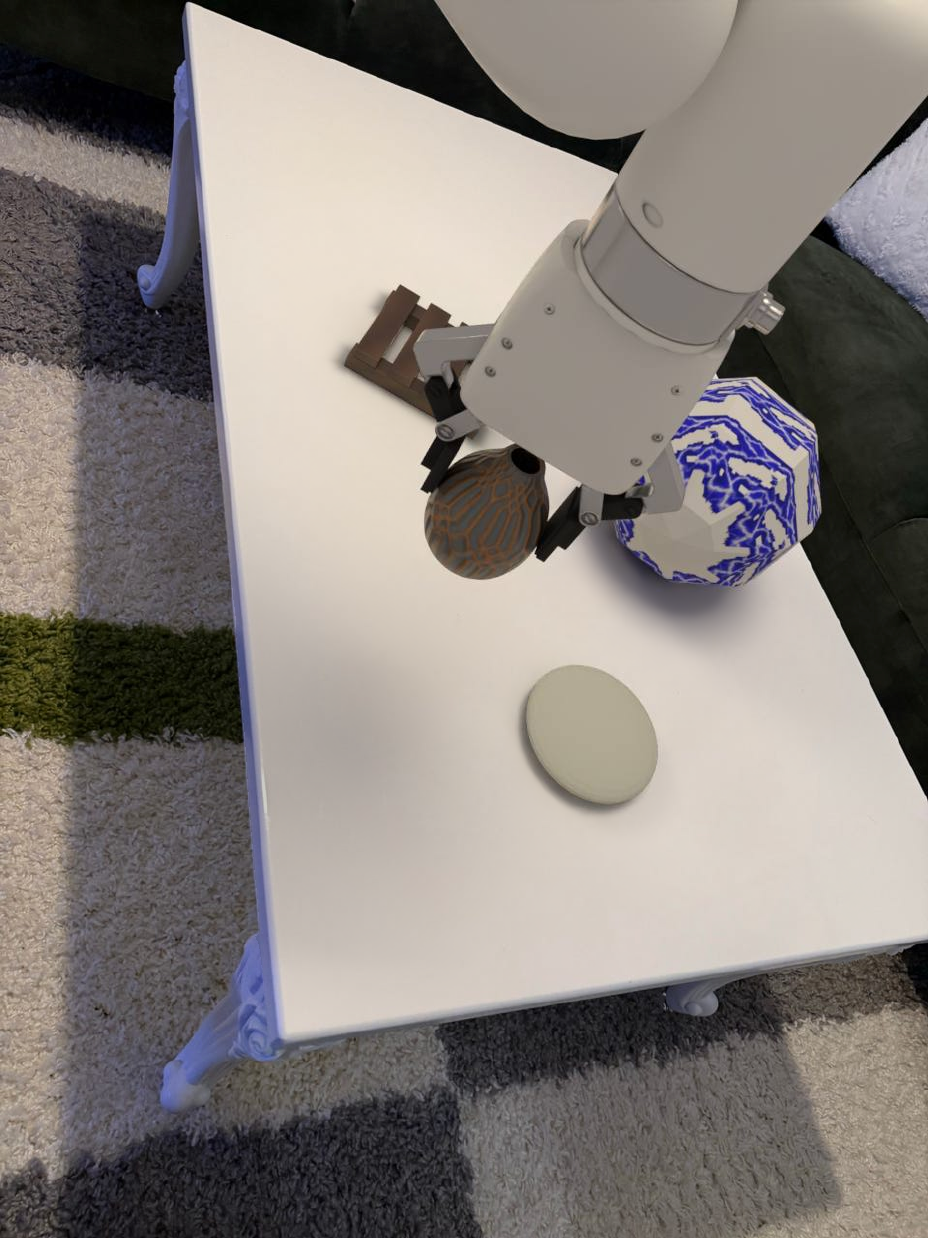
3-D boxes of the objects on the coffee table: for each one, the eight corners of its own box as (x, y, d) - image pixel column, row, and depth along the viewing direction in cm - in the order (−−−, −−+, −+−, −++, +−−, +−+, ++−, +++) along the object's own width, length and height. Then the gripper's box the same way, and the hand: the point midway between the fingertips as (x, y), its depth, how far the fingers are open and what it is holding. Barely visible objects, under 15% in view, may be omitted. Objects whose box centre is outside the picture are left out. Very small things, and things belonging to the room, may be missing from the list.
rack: (343, 364, 83) (395, 236, 72) (388, 300, 91) (441, 175, 80) (472, 439, 85) (542, 325, 74) (505, 370, 93) (574, 257, 81)
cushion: (613, 840, 69) (634, 828, 66) (492, 743, 69) (509, 727, 66) (666, 735, 76) (686, 721, 74) (558, 647, 76) (575, 630, 74)
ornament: (588, 403, 72) (676, 310, 84) (554, 580, 86) (633, 478, 98) (828, 489, 65) (884, 376, 78) (749, 665, 80) (807, 545, 92)
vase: (414, 489, 55) (471, 392, 48) (513, 523, 57) (581, 435, 50) (403, 578, 51) (464, 487, 45) (510, 610, 53) (583, 528, 47)
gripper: (836, 328, 41) (627, 543, 55) (517, 115, 39) (382, 395, 52) (827, 422, 36) (600, 631, 50) (463, 186, 34) (331, 473, 48)
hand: (490, 509), depth 51 cm, fingers closed on vase, 6 cm apart
